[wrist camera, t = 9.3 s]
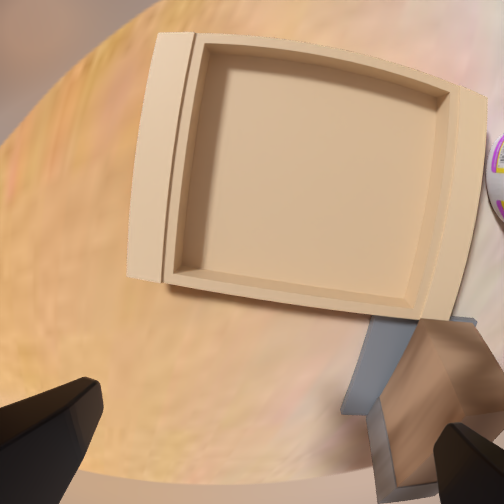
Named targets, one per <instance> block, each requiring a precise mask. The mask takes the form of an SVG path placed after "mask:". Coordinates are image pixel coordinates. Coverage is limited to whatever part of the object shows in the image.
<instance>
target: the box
mask: <svg viewBox="0 0 504 504" xmlns="http://www.w3.org/2000/svg"><path fill="white" fill-rule="evenodd" d="M454 422H461V423H463V424H465V425H466V426H468V427H469V428H471V429H472V430H474V431H475V432H477V433H478V434H480V435H482V436H483V437H485V438H486V439H488V440H489V441H491V442H493V441H494V439H495V438H496V437H497V436H498V435H499V434H500V433H501V432H502V431H503V430H504V372H503V371H502V369H501V367H500V365H499V364H498V362H497V360H496V359H495V357H494V355H493V354H492V352H491V351H490V349H489V347H488V346H487V344H486V343H485V341H484V340H483V338H482V336H481V335H480V333H479V332H478V330H477V329H476V327H475V326H474V324H473V323H469V322H457V321H446V320H435V319H425V318H420V320H419V322H418V324H417V326H416V329H415V331H414V333H413V335H412V337H411V339H410V341H409V343H408V345H407V347H406V349H405V351H404V353H403V355H402V357H401V359H400V361H399V363H398V365H397V367H396V368H395V370H394V372H393V374H392V376H391V378H390V379H389V381H388V383H387V385H386V387H385V388H384V390H383V392H382V394H381V395H380V397H378V398H377V400H376V401H375V403H374V405H373V406H372V408H371V410H370V411H369V413H368V415H367V416H366V423H367V429H368V435H369V442H370V448H371V455H372V462H373V469H374V476H375V485H376V494H377V502H378V504H380V503H391V502H399V501H407V500H413V499H420V498H426V497H431V496H435V495H436V494H437V493H439V491H438V483H437V475H436V468H435V461H434V455H433V447H434V444H435V442H436V440H437V439H438V437H439V436H440V434H441V432H442V431H443V429H444V427H445V426H446V425H447V424H448V423H454Z"/></svg>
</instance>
